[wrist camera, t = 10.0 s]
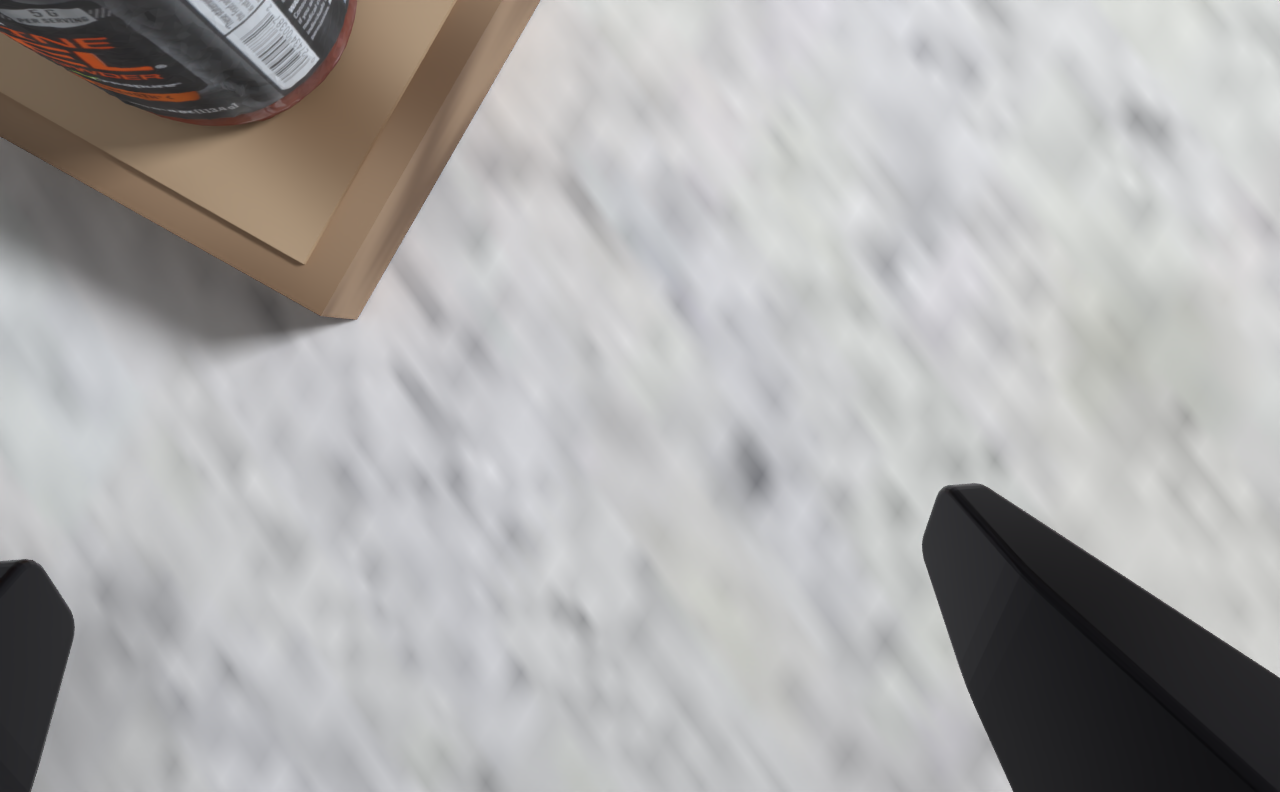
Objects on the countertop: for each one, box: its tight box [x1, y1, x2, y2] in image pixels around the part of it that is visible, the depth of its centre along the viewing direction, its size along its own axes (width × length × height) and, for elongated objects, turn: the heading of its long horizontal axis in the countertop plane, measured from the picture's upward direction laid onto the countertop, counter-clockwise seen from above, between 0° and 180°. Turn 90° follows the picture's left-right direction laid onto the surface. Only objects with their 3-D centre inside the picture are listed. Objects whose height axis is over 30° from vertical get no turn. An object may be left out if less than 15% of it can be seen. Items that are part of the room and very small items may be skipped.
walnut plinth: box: [0, 0, 540, 320], centre depth 18 cm, size 10×10×3 cm
